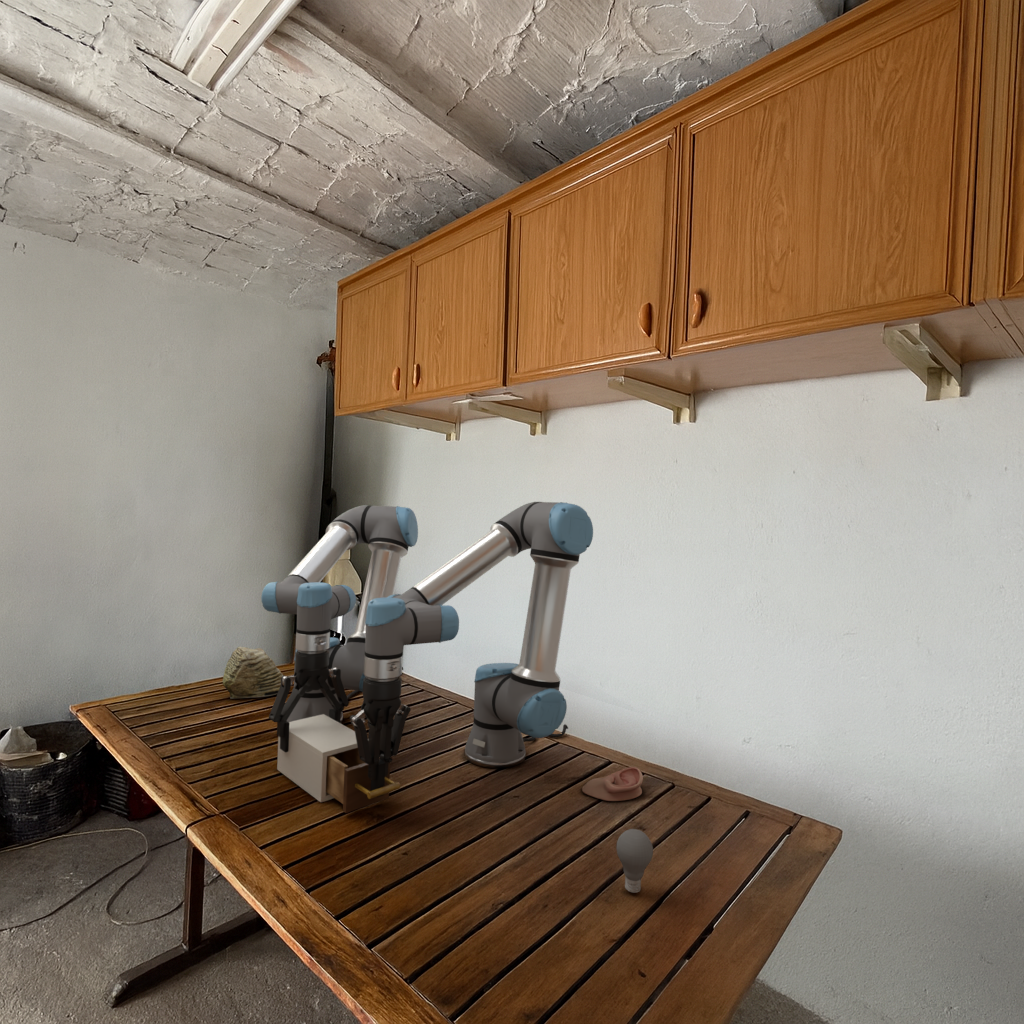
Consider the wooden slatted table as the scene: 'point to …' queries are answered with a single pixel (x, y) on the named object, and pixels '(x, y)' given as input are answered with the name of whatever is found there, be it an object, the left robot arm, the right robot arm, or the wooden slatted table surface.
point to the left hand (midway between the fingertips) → (308, 743)
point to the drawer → (354, 781)
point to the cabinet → (313, 752)
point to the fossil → (251, 674)
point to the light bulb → (634, 857)
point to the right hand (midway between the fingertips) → (377, 793)
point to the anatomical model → (616, 785)
